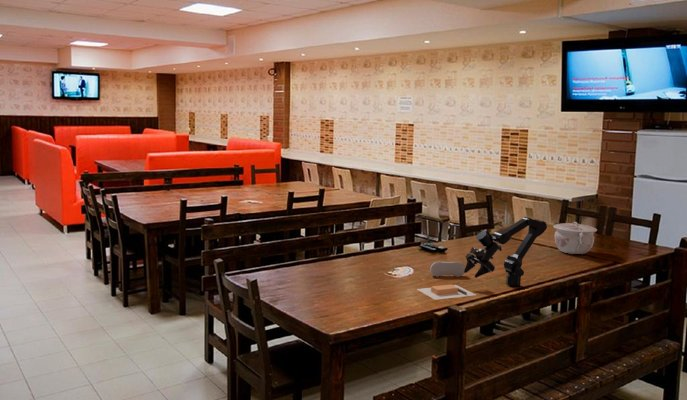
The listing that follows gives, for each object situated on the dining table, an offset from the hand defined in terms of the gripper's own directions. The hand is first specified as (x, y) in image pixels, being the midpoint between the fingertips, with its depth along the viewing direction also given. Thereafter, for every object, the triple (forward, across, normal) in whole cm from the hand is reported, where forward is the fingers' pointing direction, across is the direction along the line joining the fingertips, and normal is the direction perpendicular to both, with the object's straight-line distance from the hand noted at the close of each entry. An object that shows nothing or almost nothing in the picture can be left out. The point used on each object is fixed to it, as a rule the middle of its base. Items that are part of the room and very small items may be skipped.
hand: (469, 274), depth 309 cm
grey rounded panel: (+4, -26, +9) cm, 28 cm away
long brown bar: (+10, 0, +1) cm, 10 cm away
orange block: (+11, 0, -2) cm, 11 cm away
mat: (+15, 0, -4) cm, 16 cm away
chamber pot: (-75, -50, +90) cm, 127 cm away
